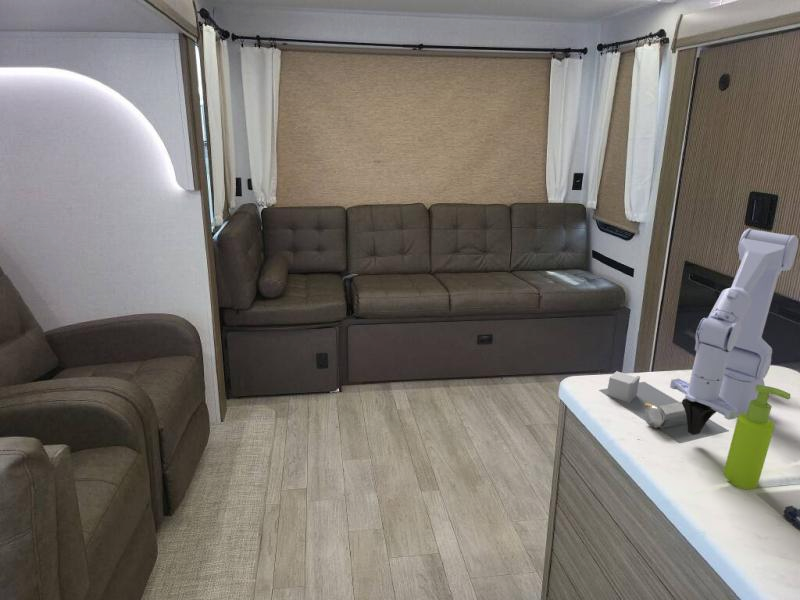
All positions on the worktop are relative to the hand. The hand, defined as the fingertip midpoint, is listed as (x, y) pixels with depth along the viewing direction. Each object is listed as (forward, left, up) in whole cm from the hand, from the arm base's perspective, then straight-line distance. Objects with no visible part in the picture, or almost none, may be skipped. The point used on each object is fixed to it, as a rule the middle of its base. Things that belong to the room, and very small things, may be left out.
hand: (693, 432), depth 120 cm
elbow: (-3, -8, -2) cm, 8 cm away
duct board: (-5, -13, -3) cm, 14 cm away
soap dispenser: (+1, +13, -3) cm, 13 cm away
